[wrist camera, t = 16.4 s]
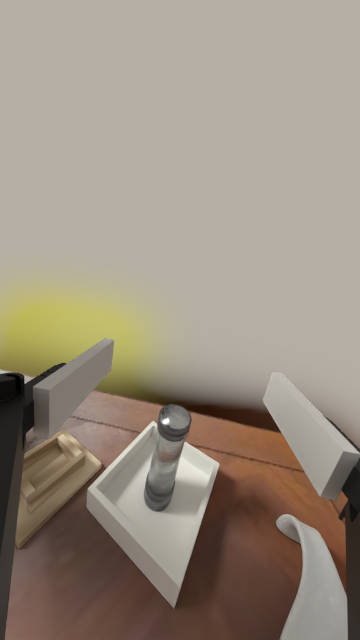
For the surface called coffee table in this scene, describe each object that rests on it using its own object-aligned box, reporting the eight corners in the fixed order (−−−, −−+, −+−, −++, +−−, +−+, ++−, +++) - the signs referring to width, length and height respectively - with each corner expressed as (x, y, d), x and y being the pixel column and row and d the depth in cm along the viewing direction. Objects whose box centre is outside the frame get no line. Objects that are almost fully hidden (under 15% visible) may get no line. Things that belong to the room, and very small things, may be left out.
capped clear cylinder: (137, 492, 29) (152, 414, 25) (158, 471, 33) (174, 399, 29) (157, 520, 26) (177, 437, 22) (177, 493, 30) (197, 418, 26)
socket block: (-17, 485, 27) (-19, 468, 26) (64, 432, 38) (64, 419, 37) (18, 549, 22) (18, 530, 21) (101, 467, 32) (102, 452, 32)
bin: (86, 507, 27) (87, 488, 26) (150, 435, 41) (152, 421, 40) (174, 609, 20) (180, 587, 19) (215, 479, 34) (219, 463, 33)
